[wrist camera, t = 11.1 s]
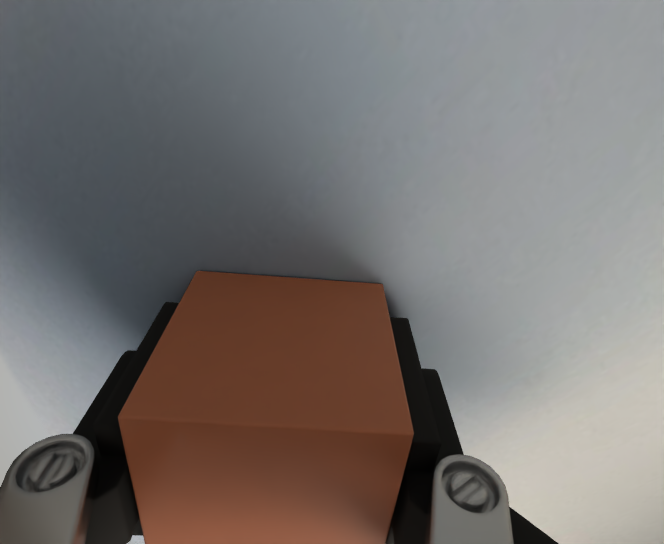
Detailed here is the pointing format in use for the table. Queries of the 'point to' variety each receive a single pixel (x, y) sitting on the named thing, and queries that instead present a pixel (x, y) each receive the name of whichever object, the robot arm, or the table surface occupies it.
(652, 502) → the table surface
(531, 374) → the table surface
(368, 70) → the table surface
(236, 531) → the block
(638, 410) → the table surface
